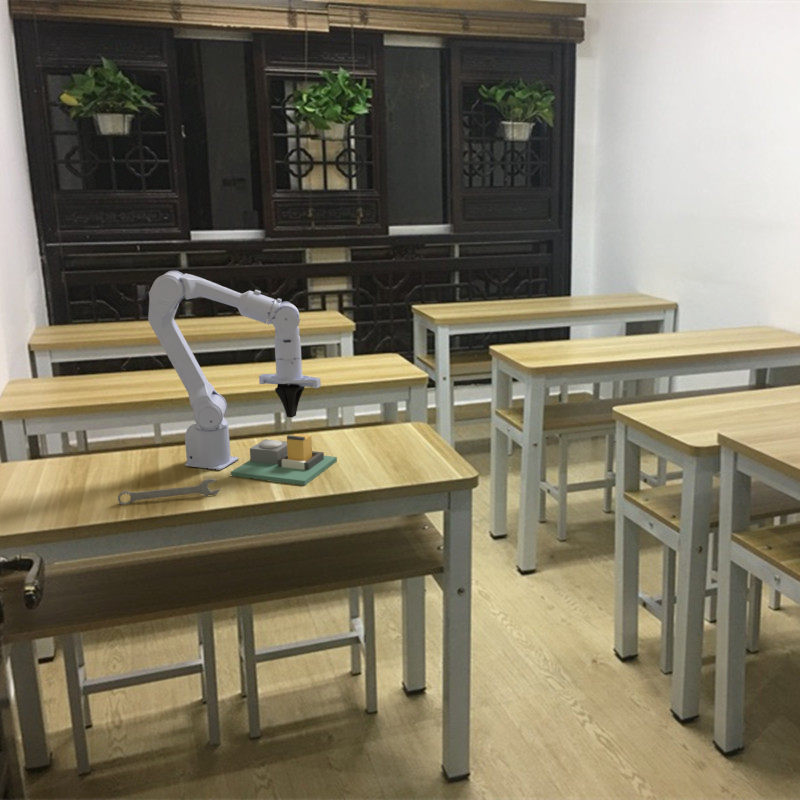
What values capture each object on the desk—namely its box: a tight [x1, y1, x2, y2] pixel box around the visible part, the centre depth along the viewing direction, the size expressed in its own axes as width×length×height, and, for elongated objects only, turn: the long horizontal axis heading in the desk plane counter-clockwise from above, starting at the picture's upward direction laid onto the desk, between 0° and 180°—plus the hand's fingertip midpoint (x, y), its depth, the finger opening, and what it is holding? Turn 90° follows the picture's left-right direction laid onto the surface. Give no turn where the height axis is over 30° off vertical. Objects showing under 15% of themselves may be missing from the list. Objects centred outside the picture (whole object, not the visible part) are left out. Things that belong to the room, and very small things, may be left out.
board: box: [230, 439, 338, 486], centre depth 177 cm, size 18×16×4 cm
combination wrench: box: [117, 478, 221, 506], centre depth 160 cm, size 4×1×20 cm
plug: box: [286, 433, 313, 461], centre depth 176 cm, size 4×4×7 cm
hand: (291, 416), depth 180 cm, fingers closed
